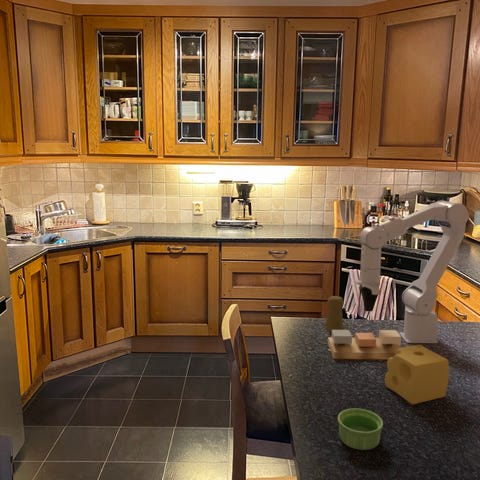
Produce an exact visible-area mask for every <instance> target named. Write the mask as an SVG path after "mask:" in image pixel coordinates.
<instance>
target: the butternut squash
mask: <svg viewBox="0 0 480 480" xmlns="http://www.w3.org/2000/svg"><path fill="white" fill-rule="evenodd" d="M327 306H328V311H327V317H326V321H325V327H324V328H325V330H326V331H328V332H330V333H332V330H345V328H344V320H343V306H344V299H343V297H341V296H338V295H331V296H329V297H328V298H327Z"/></svg>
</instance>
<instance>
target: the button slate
mask: <svg viewBox="0 0 480 480" xmlns="http://www.w3.org/2000/svg"><path fill="white" fill-rule="evenodd" d="M331 337H332V339H333V341H334V343H348V344H352V338H353V335H352V333H351V332H350V329H344V330H332V332H331Z"/></svg>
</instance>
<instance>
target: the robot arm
mask: <svg viewBox="0 0 480 480" xmlns="http://www.w3.org/2000/svg"><path fill="white" fill-rule="evenodd" d="M469 219H470V214H469V212H468V209H467V207H466V206H465V205H464V204H463V203H459V202H451V201H447V200H444V199H443V200H442V199H441V200H437V201H436V202H431V203H429V204H428V205H427V206H425V207H423V208H421V209H419V210H416V211H415V212H413V213H411V214H408V215H407V216H404V217H403V218H400V217H398V216H389V217H388V220H386V221H383V222H381V223H378V222H376V223H375V224H374V226H373V227H372V226H367V227H364V228H363V229H362V231H360V233H359V235H358V238H357V239H358V241H359V243H360V244H361V251H360V252H361V253H360V274H359V275H360V277H359V278H360V279H359V280H355V281H356V282H355V284H356V285H359V287H358V289H359V291H360V294H361V296H362V301H363V308H364V311H365V312H373V311H374V309H375V304H376V301H377V298H378V297H379V296H380V294H381V289H380V286H381V266H382V265H381V263H382V261H381V260H382V248H383V246H384V245H385V244H386V243H387V242H389V241H392V240H394V239H396V238H399V237H401V236H403V235H405V234H406V233H407V229H409V228H413V227H415V226H418V225H420V224H423V223H427V222H429V221H432V220H433V221H436V223H437V224H438V225H439V226H440V228H441V230H442V236H441V238H440V239H439V241H438V243H437V245H436V246H435V249H434V250H433V252H432V254H431V256H430V257H429V260H428V262H427V264H426V265H425V266H424V268H423V271H422V272H421V273H420V276H419V278H418V279H416V280H415V279H414V281H412V282H411V283H410V285H409V286H408V287H407V288H406V289H405V290H403V292H402V294H401V299H402V303H403V305H405V306H404V308H405V309H404V320H403V321H404V322H403V324H404V325H403V331H400V332H398V333H399V335H400V336H401V339H403V340H404V341H405V343H407V344H438V332H439V331H438V330H439V329H438V328H439V317H438V315H437V313H436V312H435V311H434V309H435V306H436V300H437V298H438V295H439V294H438V290H437V285H438V284H439V283H440V280H441V279H442V277H443V275H444V274H445V272H446V269H447V268H448V266H449V265H450V262H451V261H452V259H453V257H454V256H455V254H456V252H457V250H458V248H459V247H460V245H461V243H462V241H463V240H464V237H465V235H466V225H467V222H468V220H469Z"/></svg>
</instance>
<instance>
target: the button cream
mask: <svg viewBox="0 0 480 480" xmlns="http://www.w3.org/2000/svg"><path fill="white" fill-rule="evenodd" d="M378 338H380V340H381V341H382V343H383V344H399V345H401V344H402V336H401V335H400V334H399V332H398V331H397V330H395V329H393V330H390V329H389V330H388V329H387V330H386V329H379V330H378Z"/></svg>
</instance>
